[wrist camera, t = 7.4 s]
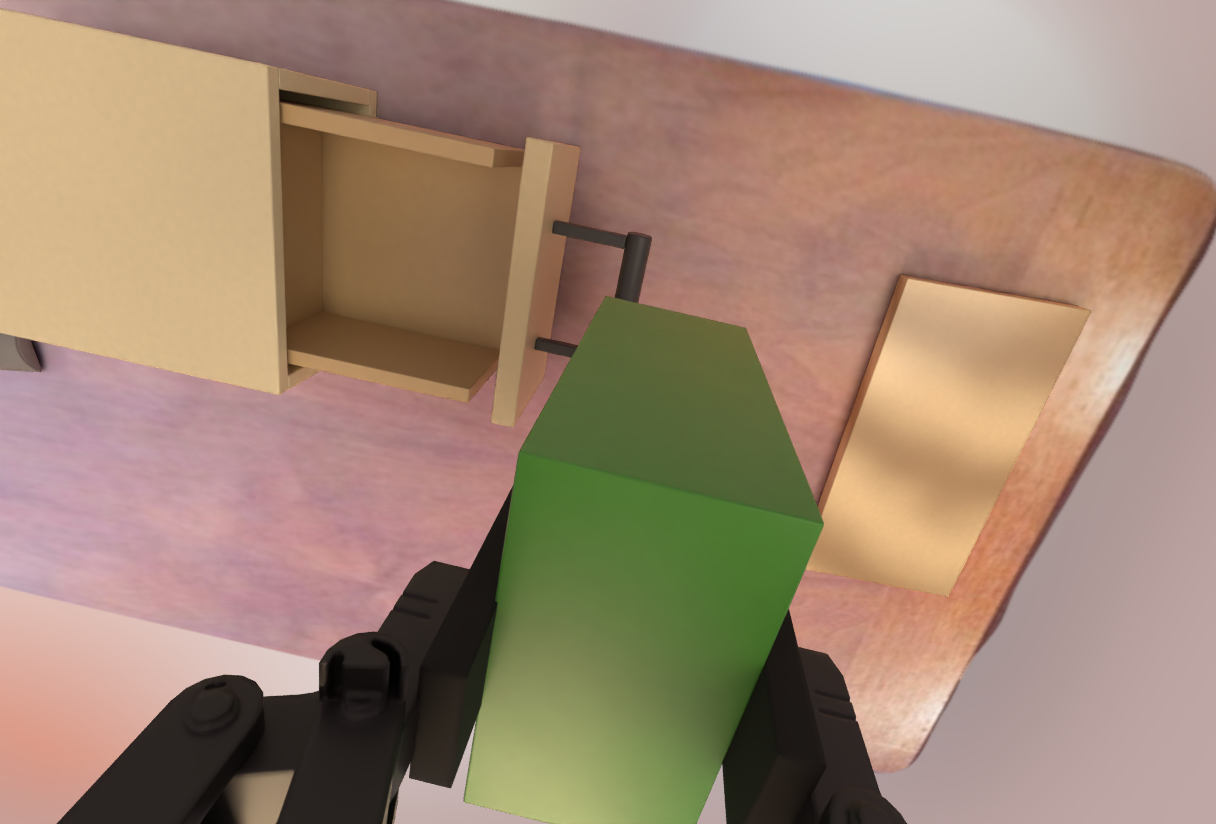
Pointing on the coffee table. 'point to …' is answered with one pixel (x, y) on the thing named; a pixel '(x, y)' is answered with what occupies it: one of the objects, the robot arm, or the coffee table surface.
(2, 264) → the cabinet
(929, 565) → the board
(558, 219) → the drawer
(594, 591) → the tall green block
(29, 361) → the half round rod
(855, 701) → the coffee table surface
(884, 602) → the coffee table surface
